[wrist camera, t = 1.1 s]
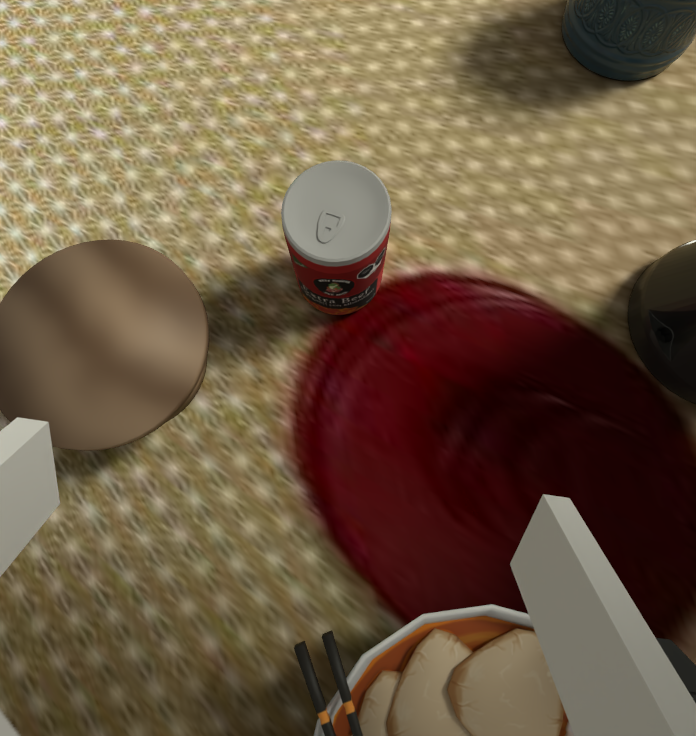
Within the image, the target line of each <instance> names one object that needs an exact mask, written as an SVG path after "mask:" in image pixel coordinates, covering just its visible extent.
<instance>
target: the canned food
mask: <svg viewBox="0 0 696 736" xmlns="http://www.w3.org/2000/svg"><path fill="white" fill-rule="evenodd" d="M281 214H282V226H283V230H284V235H285V239H286V242H287V246H288V249H289V253H290V256H291V260H292V263H293V267H294V270H295V274H296V277H297V281H298V284H299V288H300V291H301V293H302V294H303V296H304V298H305V299H306V300H307V301H308V302H309V303H310V304H311V305H312V306H313V307H315V308H316V309H318V310H320V311H322V312H324V313H327V314H332V315H345V314H350V313H353V312H355V311H357V310H359V309H361V308H362V307H364V306H365V305H366V304H367V303H369V302H370V301H371V300H372V298H373V297H374V296H375V294H376V293H377V291H378V289H379V287H380V283H381V279H382V273H383V267H384V261H385V255H386V250H387V244H388V238H389V232H390V224H391V203H390V197H389V194H388V192H387V189H386V187H385V186H384V184H383V182H382V181H381V180H380V179H379V178H378V177H377V176H376V175H375V174H374V173H373V172H372V171H370V170H369V169H367V168H366V167H364V166H361V165H359V164H357V163H353V162H348V161H329V162H324V163H321V164H318V165H315V166H313V167H311V168H309V169H307V170H305V171H304V172H303V173H302V174H300V175H299V176H298V177H297V178H296V179H295V180H294V181H293V183H292V184H291V185H290V187H289V189H288V190H287V192H286V194H285V197H284V200H283V204H282V212H281Z"/></svg>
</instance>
